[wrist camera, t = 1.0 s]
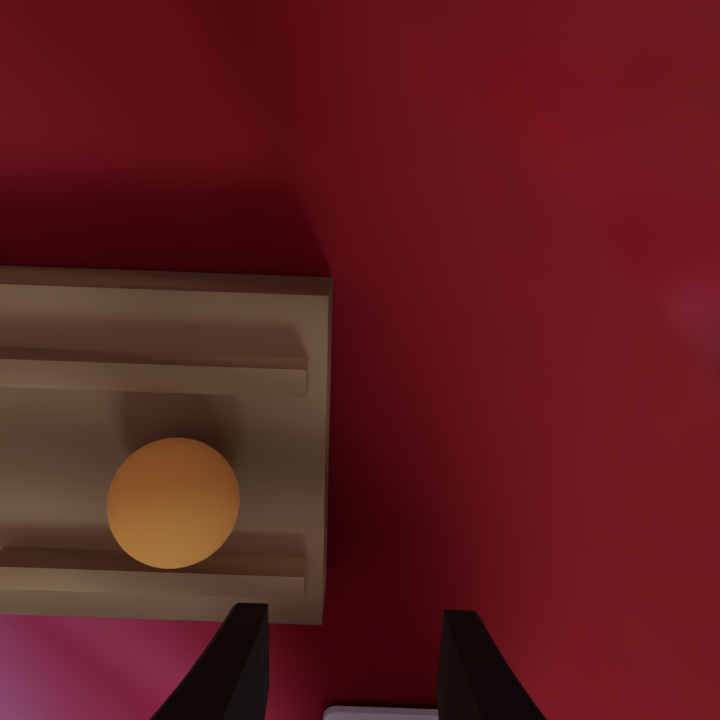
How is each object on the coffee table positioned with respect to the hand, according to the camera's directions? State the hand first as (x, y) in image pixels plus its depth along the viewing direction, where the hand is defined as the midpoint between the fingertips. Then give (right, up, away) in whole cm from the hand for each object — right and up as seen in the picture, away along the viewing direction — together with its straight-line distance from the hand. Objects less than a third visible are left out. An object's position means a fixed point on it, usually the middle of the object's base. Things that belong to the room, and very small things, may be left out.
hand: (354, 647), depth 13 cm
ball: (-5, +2, +5) cm, 7 cm away
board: (-10, +3, +9) cm, 14 cm away
